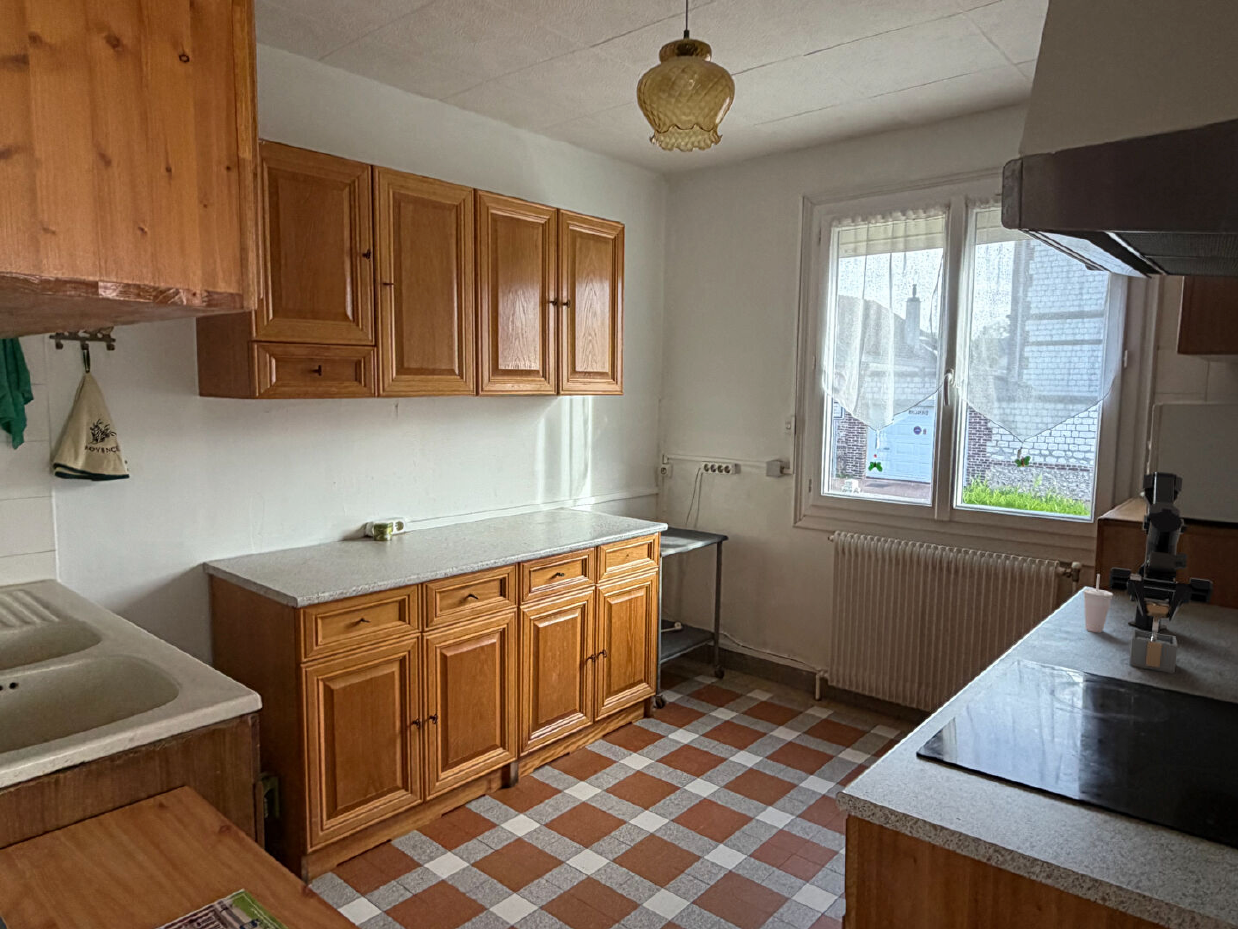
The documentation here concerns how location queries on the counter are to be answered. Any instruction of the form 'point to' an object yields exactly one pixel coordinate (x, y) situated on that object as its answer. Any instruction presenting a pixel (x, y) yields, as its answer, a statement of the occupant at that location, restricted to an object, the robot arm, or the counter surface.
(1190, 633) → the counter surface
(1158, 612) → the plunger
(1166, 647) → the grey open box
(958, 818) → the counter surface
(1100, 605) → the smoothie
